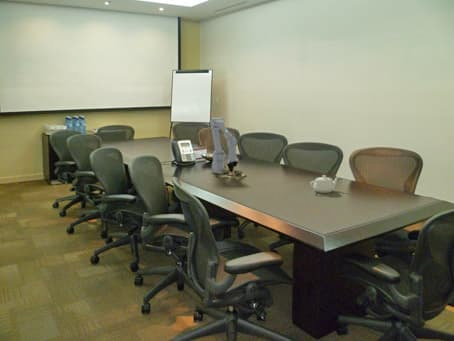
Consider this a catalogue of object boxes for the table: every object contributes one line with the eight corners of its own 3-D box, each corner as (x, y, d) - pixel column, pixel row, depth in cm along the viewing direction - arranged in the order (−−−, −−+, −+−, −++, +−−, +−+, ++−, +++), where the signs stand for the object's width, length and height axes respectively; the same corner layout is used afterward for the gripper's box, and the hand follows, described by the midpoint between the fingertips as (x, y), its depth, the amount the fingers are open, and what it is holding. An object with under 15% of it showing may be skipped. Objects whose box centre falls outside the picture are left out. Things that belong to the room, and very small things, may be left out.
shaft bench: (218, 177, 312) (218, 170, 310) (227, 173, 323) (227, 167, 322) (237, 179, 303) (237, 172, 302) (246, 176, 315) (246, 169, 314)
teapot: (316, 195, 257) (316, 178, 255) (304, 190, 270) (305, 174, 268) (344, 192, 265) (345, 176, 263) (332, 187, 278) (333, 172, 275)
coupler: (229, 173, 312) (229, 166, 311) (231, 173, 315) (231, 165, 314) (234, 174, 310) (234, 166, 309) (236, 173, 313) (236, 166, 312)
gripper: (232, 155, 302) (232, 173, 304) (241, 153, 314) (241, 170, 317) (224, 155, 305) (224, 172, 308) (233, 152, 317) (233, 169, 320)
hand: (232, 171), depth 312 cm, fingers closed on coupler, 4 cm apart
